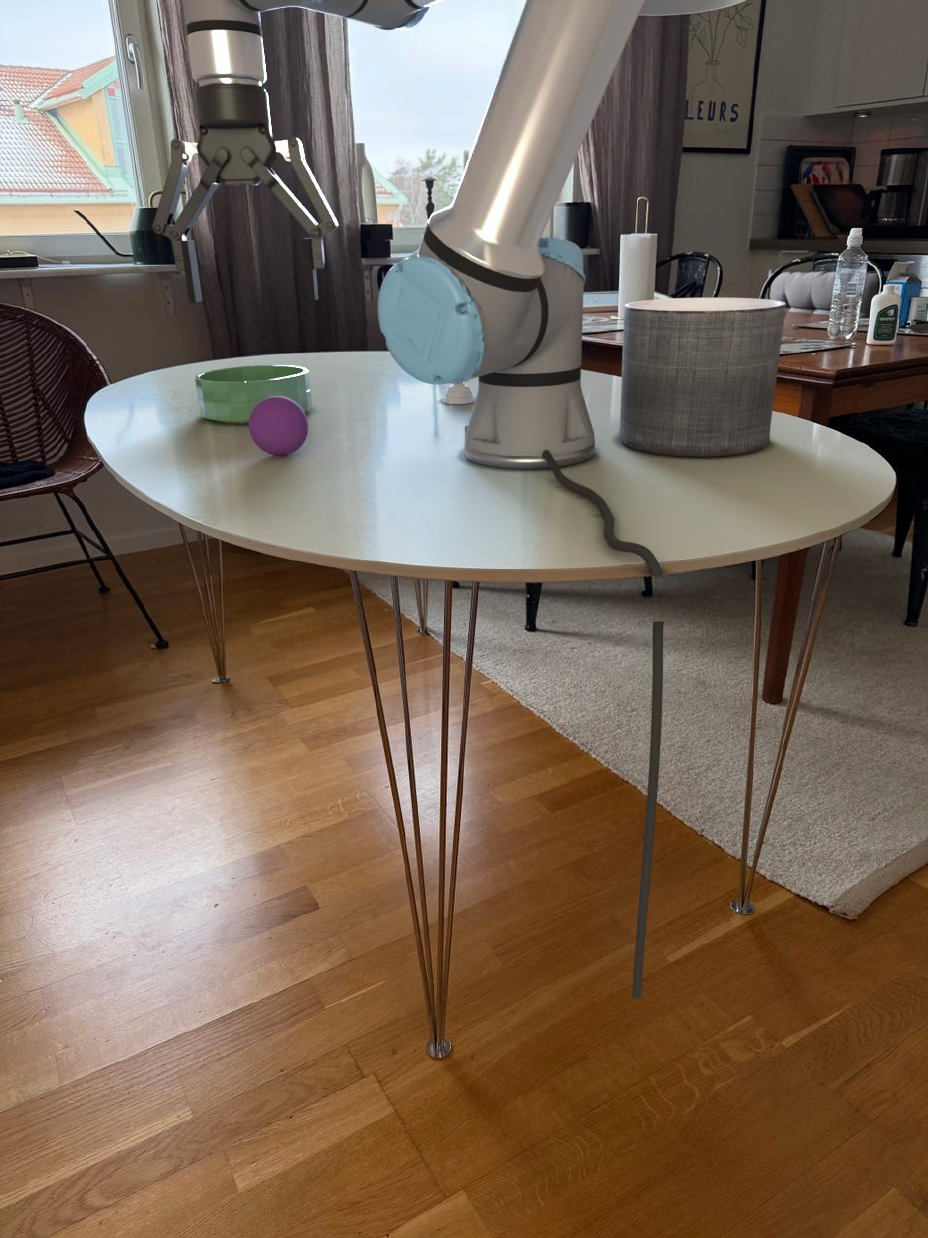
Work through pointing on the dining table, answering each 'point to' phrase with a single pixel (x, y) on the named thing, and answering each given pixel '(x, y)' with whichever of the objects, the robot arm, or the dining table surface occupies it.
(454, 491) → the dining table surface
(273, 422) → the ball
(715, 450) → the planter
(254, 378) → the bowl
